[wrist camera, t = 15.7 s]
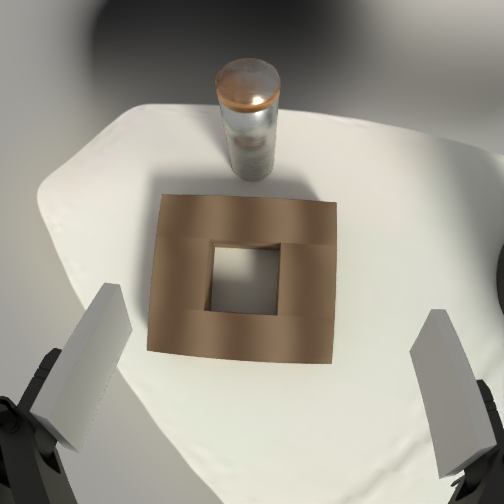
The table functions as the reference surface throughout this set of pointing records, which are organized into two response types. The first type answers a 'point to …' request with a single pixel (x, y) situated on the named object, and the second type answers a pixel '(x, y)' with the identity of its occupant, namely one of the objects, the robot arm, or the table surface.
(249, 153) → the steel peg
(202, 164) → the table surface
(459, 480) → the robot arm
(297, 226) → the pocket block
